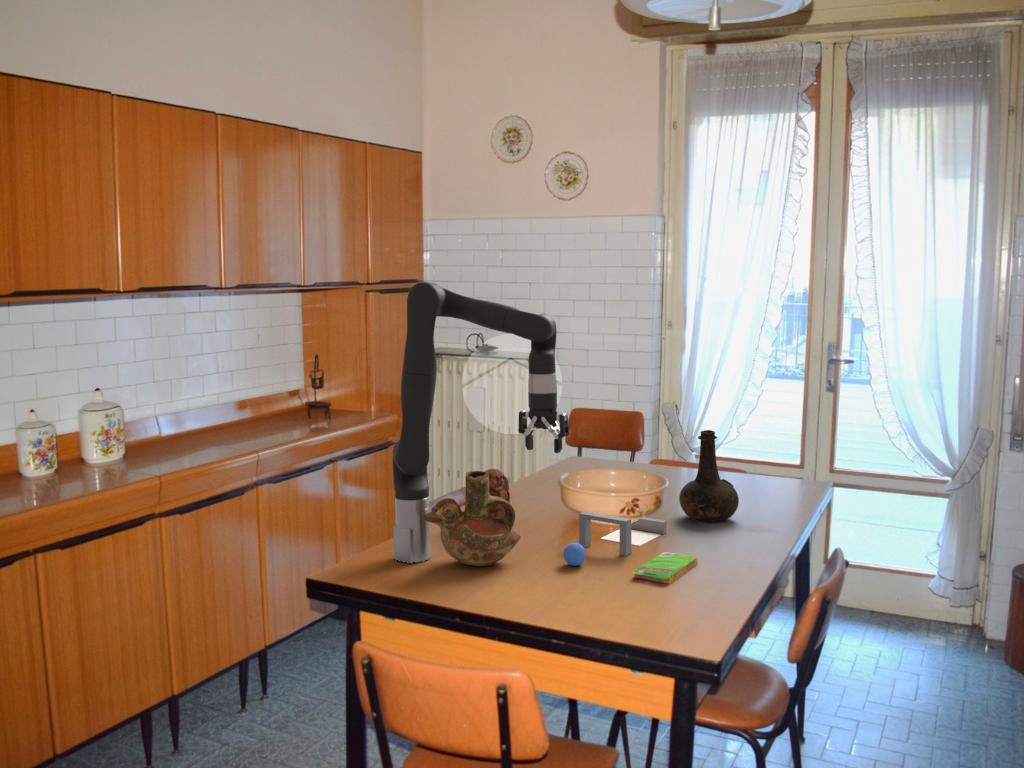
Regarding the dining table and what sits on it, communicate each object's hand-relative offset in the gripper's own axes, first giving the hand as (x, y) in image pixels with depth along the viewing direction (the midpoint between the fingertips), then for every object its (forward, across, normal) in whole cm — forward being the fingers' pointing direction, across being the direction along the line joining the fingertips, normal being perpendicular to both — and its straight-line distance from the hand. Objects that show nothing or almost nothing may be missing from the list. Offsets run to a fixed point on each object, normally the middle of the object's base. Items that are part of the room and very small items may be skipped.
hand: (543, 451), depth 245 cm
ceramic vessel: (+30, -16, -12) cm, 36 cm away
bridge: (+31, +8, +18) cm, 36 cm away
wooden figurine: (+30, -32, +21) cm, 49 cm away
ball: (+27, +8, +2) cm, 29 cm away
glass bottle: (+31, +21, +62) cm, 73 cm away
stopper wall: (+31, +9, +42) cm, 53 cm away
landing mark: (+31, +9, +33) cm, 46 cm away
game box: (+32, +30, +10) cm, 45 cm away
